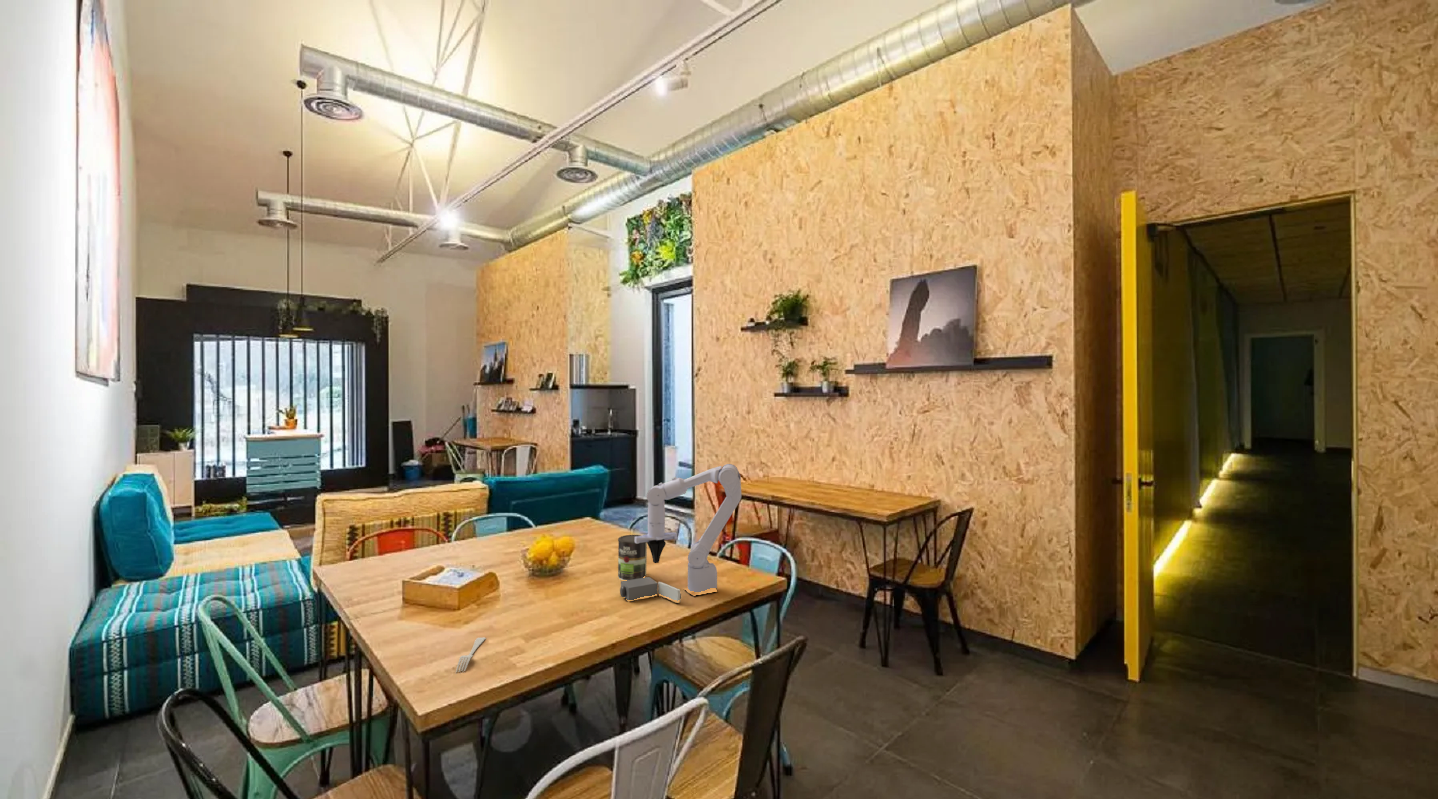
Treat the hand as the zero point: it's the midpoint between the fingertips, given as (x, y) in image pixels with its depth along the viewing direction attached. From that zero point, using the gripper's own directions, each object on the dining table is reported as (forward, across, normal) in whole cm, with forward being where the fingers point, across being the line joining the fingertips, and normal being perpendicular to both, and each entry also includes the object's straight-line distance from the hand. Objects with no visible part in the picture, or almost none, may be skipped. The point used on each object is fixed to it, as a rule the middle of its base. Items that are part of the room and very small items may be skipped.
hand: (655, 562), depth 199 cm
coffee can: (+10, -3, +16) cm, 19 cm away
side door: (+9, +1, -10) cm, 14 cm away
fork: (+10, -59, -25) cm, 65 cm away
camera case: (+9, -7, -3) cm, 12 cm away
